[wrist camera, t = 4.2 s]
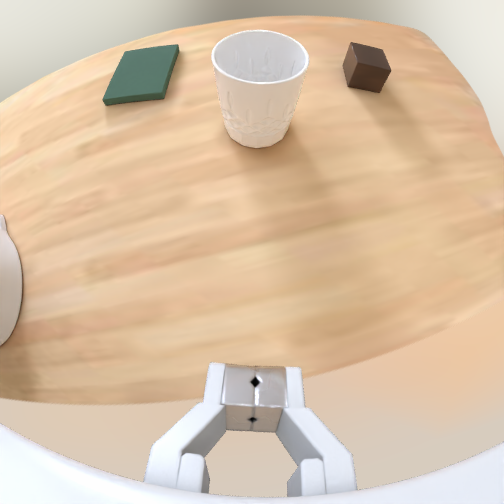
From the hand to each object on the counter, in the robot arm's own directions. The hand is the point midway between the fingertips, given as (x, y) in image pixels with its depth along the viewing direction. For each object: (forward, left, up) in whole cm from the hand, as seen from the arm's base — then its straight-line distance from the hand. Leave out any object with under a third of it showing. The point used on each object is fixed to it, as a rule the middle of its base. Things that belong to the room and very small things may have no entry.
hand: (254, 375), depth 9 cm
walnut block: (+13, +32, -15) cm, 38 cm away
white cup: (0, +22, -16) cm, 27 cm away
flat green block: (-15, +31, -15) cm, 38 cm away
